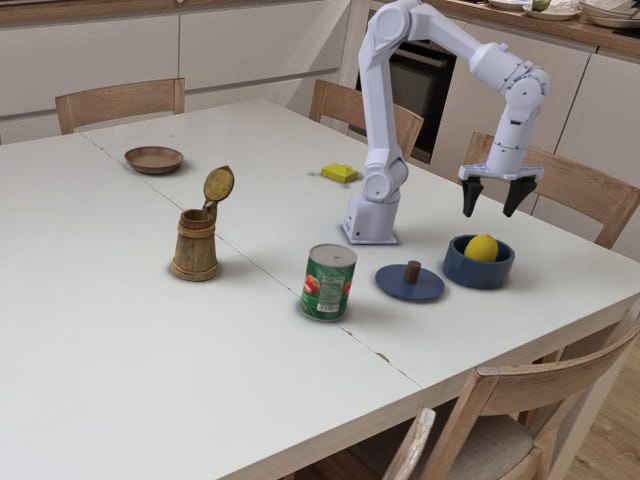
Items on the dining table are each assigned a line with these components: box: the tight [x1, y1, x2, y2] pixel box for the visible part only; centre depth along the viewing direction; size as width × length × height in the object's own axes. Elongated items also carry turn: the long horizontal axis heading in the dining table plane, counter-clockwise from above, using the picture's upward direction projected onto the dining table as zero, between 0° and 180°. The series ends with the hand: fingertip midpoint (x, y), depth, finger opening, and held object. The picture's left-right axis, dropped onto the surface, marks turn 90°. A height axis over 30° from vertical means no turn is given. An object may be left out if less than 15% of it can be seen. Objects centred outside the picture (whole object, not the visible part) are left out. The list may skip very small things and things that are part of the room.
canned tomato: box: [299, 243, 358, 323], centre depth 115 cm, size 8×8×11 cm
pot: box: [441, 234, 516, 291], centre depth 127 cm, size 11×11×6 cm
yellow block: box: [311, 162, 360, 188], centre depth 166 cm, size 10×9×3 cm
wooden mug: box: [170, 164, 236, 282], centre depth 125 cm, size 9×14×18 cm, turn 141°
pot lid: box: [374, 259, 446, 302], centre depth 124 cm, size 12×12×5 cm
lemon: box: [464, 233, 498, 262], centre depth 126 cm, size 6×6×8 cm
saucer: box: [123, 145, 184, 175], centre depth 169 cm, size 15×15×3 cm
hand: (486, 215), depth 126 cm, fingers open, 7 cm apart
